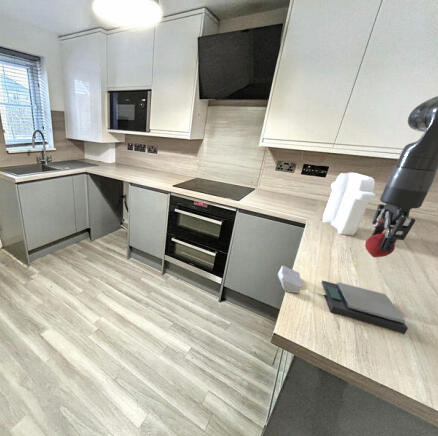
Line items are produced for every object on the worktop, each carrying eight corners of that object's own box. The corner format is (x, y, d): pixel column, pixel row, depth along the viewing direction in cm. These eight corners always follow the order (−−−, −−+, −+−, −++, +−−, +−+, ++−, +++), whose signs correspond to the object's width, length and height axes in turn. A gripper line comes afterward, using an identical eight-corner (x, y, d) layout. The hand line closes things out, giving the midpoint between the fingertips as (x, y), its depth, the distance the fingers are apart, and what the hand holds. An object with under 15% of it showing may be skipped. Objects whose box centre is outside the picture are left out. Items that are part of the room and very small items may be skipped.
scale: (381, 301, 72) (385, 294, 71) (404, 334, 60) (409, 326, 60) (320, 285, 78) (322, 279, 78) (330, 312, 67) (333, 305, 66)
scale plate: (384, 296, 71) (385, 294, 71) (404, 323, 61) (405, 320, 60) (336, 284, 75) (337, 281, 75) (347, 307, 65) (348, 304, 65)
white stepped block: (367, 240, 117) (393, 180, 106) (342, 237, 118) (365, 178, 108) (337, 221, 142) (356, 171, 131) (316, 218, 143) (333, 169, 133)
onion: (392, 264, 63) (406, 237, 60) (366, 259, 64) (378, 233, 62) (381, 254, 68) (393, 229, 65) (357, 250, 70) (368, 225, 67)
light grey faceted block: (291, 301, 75) (302, 292, 71) (272, 290, 77) (281, 281, 73) (294, 278, 82) (304, 269, 78) (276, 269, 84) (285, 260, 80)
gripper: (446, 195, 51) (411, 261, 57) (411, 183, 63) (385, 239, 69) (401, 189, 54) (372, 253, 60) (376, 179, 66) (354, 233, 72)
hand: (379, 245), depth 65 cm, fingers closed on onion, 6 cm apart
